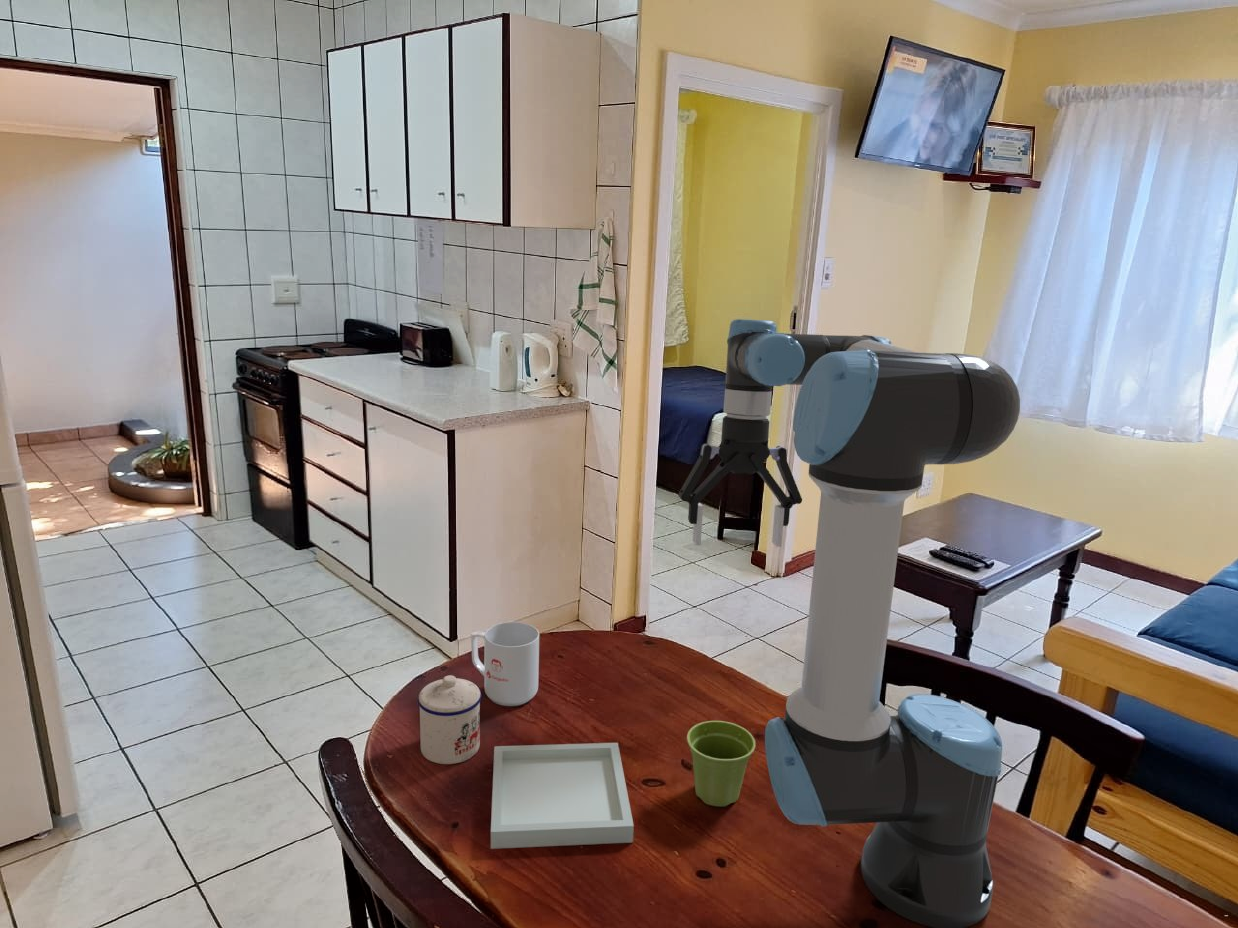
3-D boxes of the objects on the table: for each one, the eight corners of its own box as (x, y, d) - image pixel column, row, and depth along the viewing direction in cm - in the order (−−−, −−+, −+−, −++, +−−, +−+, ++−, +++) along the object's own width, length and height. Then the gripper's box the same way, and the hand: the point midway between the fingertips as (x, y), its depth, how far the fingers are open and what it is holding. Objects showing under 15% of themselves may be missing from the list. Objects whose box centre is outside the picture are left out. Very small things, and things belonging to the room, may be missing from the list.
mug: (547, 688, 144) (549, 628, 141) (521, 714, 136) (521, 651, 133) (487, 671, 148) (487, 613, 145) (457, 695, 140) (457, 634, 137)
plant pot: (679, 809, 115) (683, 754, 113) (686, 768, 124) (690, 716, 122) (748, 820, 114) (754, 764, 111) (751, 777, 123) (756, 725, 120)
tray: (632, 842, 109) (633, 825, 108) (490, 848, 107) (490, 831, 106) (617, 757, 126) (617, 742, 125) (494, 761, 124) (494, 746, 123)
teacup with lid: (464, 772, 121) (463, 699, 118) (407, 758, 123) (405, 687, 120) (499, 727, 132) (499, 659, 129) (446, 715, 135) (445, 649, 131)
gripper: (812, 416, 142) (802, 539, 146) (666, 410, 139) (658, 536, 143) (828, 421, 135) (817, 551, 138) (674, 416, 132) (666, 548, 135)
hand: (736, 544), depth 141 cm, fingers open, 13 cm apart
